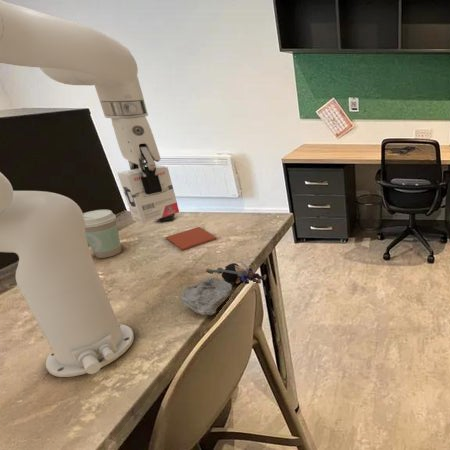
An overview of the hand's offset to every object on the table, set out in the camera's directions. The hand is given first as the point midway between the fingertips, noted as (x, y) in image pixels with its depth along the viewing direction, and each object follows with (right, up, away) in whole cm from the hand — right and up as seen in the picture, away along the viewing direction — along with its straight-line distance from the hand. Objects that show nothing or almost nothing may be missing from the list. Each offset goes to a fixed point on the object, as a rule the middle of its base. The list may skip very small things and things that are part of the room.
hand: (148, 189), depth 80 cm
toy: (+25, -21, +4) cm, 33 cm away
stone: (+14, -22, 0) cm, 26 cm away
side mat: (-7, -13, +27) cm, 31 cm away
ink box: (0, -6, +3) cm, 7 cm away
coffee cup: (-25, -17, +18) cm, 35 cm away
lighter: (-21, -4, +41) cm, 47 cm away
